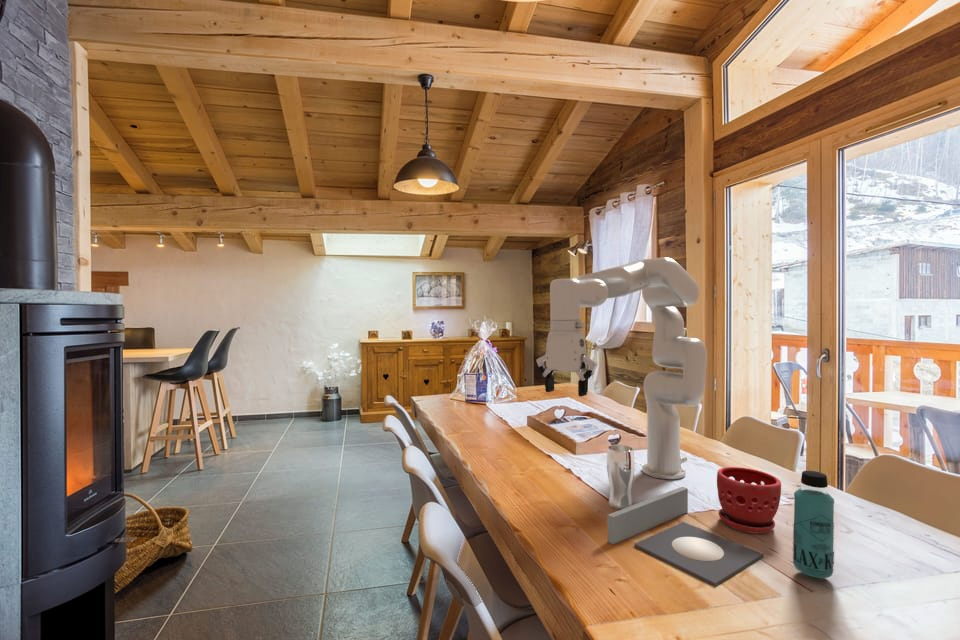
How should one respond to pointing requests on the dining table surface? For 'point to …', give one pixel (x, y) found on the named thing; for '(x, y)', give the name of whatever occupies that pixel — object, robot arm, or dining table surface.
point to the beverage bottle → (813, 527)
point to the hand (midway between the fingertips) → (565, 393)
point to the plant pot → (748, 499)
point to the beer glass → (620, 475)
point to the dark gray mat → (699, 552)
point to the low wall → (647, 514)
